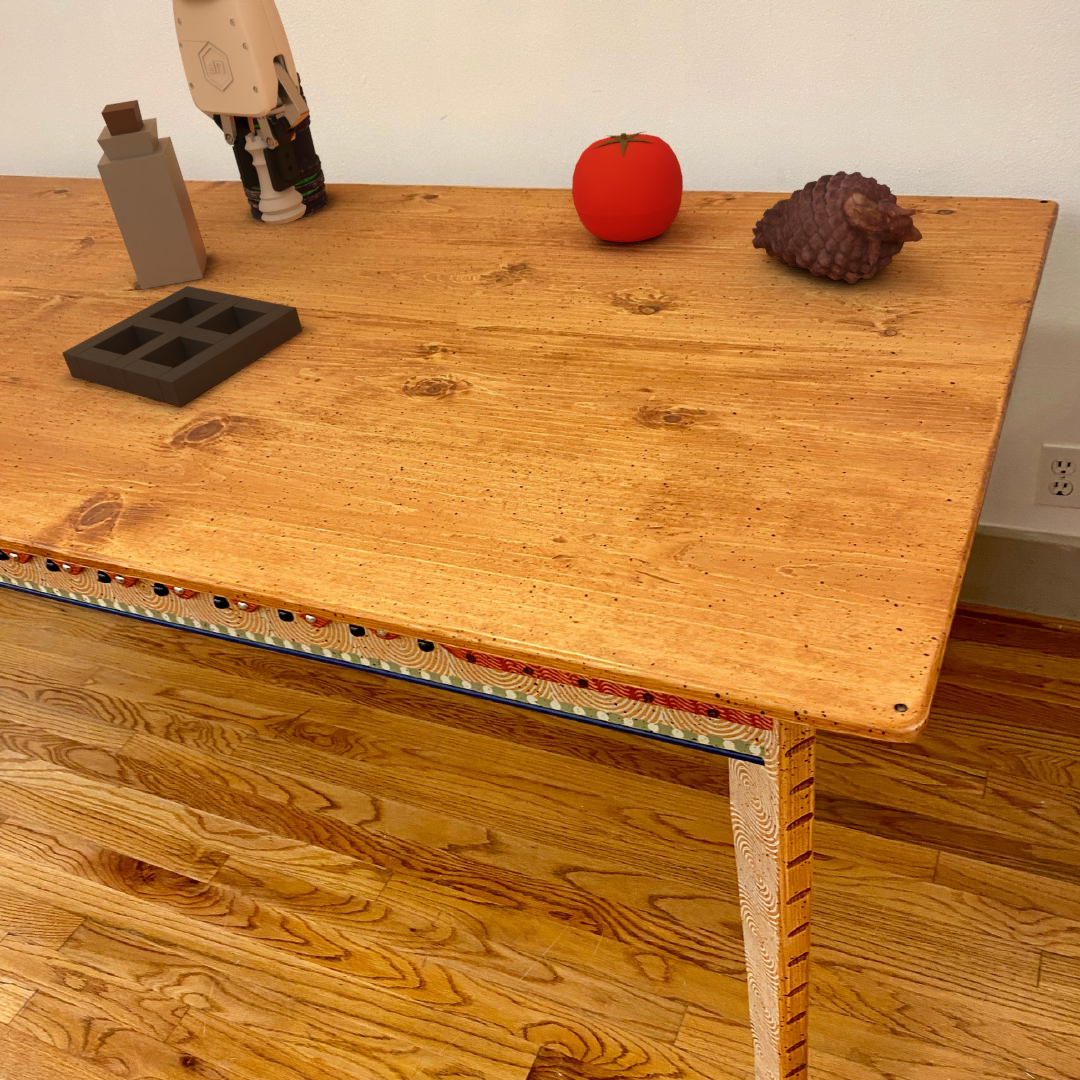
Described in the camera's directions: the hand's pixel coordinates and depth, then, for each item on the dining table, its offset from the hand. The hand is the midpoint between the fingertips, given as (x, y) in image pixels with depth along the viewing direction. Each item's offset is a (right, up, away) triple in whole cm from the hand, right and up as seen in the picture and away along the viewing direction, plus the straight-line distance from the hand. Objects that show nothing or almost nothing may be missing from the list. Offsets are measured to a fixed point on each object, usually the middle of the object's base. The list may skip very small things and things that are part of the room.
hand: (272, 183), depth 103 cm
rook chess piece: (+1, -3, +2) cm, 4 cm away
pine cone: (+53, -9, -2) cm, 54 cm away
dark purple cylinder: (-6, +7, +32) cm, 33 cm away
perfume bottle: (-15, -4, +18) cm, 24 cm away
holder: (-8, -16, 0) cm, 18 cm away
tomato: (+35, -2, +11) cm, 37 cm away
